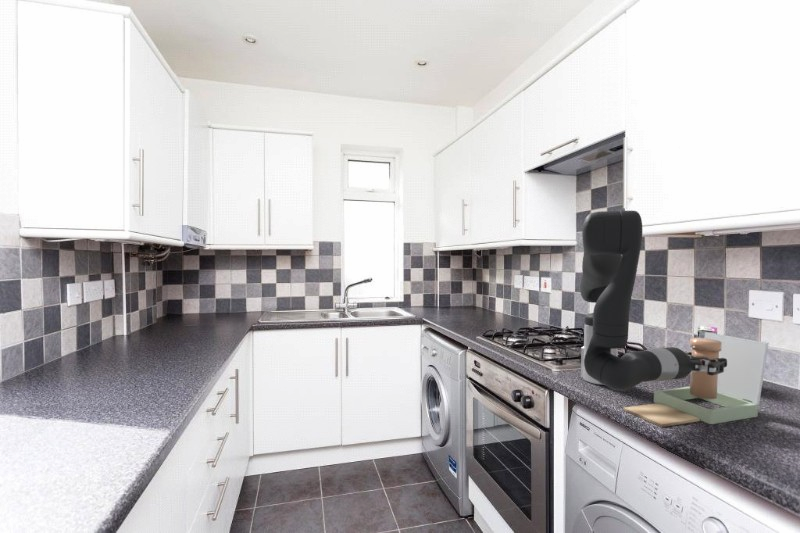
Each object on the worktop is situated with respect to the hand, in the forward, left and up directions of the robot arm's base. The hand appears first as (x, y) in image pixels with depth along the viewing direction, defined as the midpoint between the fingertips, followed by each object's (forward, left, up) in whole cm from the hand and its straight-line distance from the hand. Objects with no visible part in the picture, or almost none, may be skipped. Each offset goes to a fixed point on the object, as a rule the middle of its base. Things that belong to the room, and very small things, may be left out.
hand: (711, 359), depth 98 cm
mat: (0, -17, -13) cm, 21 cm away
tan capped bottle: (0, -2, -9) cm, 9 cm away
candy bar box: (-17, +23, -13) cm, 31 cm away
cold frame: (0, -3, -13) cm, 13 cm away
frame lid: (0, +7, -10) cm, 12 cm away
